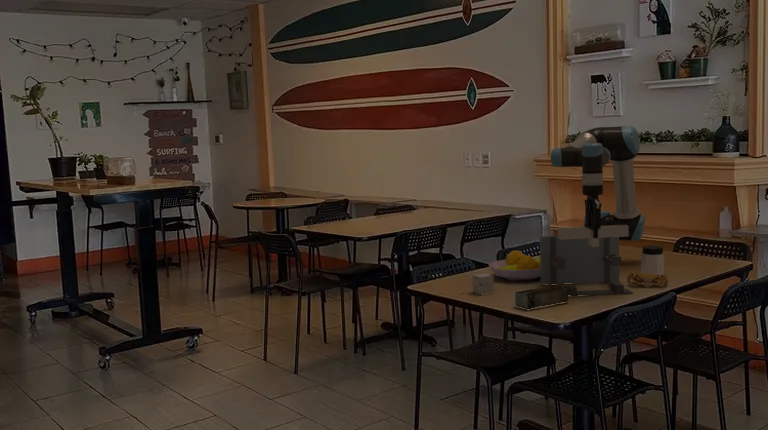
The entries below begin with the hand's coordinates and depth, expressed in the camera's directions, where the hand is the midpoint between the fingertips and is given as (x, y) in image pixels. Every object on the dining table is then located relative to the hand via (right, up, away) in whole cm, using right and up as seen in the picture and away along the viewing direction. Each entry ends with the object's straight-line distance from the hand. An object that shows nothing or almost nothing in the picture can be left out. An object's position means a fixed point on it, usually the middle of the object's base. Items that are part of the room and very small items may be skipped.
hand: (593, 245), depth 293 cm
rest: (+1, -19, +2) cm, 19 cm away
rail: (0, +3, 0) cm, 3 cm away
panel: (+1, -17, +15) cm, 23 cm away
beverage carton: (-22, -22, -12) cm, 33 cm away
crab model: (+25, -17, +13) cm, 32 cm away
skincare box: (-40, -20, +11) cm, 46 cm away
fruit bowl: (-20, -16, +37) cm, 45 cm away
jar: (+33, -14, +30) cm, 47 cm away
